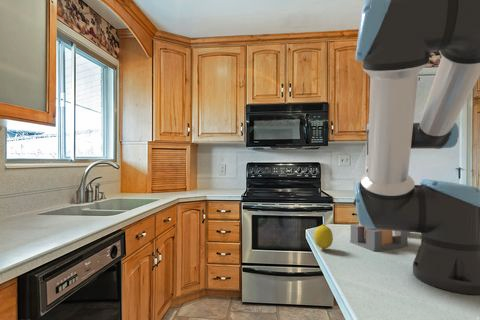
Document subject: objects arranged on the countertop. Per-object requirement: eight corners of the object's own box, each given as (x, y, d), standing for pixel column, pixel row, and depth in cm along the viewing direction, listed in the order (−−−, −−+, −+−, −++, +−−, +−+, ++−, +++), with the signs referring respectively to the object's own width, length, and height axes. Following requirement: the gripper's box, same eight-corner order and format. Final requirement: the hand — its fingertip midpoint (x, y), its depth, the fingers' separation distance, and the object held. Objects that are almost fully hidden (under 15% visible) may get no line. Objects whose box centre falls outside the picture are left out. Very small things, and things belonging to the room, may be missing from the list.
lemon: (310, 248, 88) (310, 223, 88) (325, 246, 90) (325, 222, 90) (321, 253, 83) (321, 227, 83) (336, 251, 85) (336, 225, 85)
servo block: (398, 241, 93) (398, 211, 93) (371, 245, 88) (371, 214, 88) (385, 237, 97) (385, 209, 97) (359, 241, 93) (359, 211, 93)
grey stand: (408, 245, 91) (408, 227, 91) (374, 251, 85) (374, 231, 85) (382, 237, 100) (382, 221, 100) (350, 242, 95) (350, 224, 95)
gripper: (422, 168, 83) (422, 239, 83) (358, 166, 106) (358, 221, 106) (405, 168, 80) (404, 241, 80) (343, 166, 103) (343, 223, 103)
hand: (378, 230), depth 93 cm, fingers open, 13 cm apart
